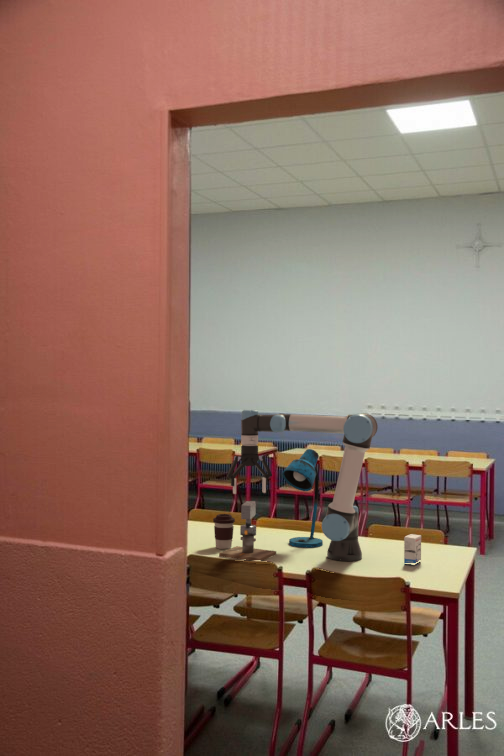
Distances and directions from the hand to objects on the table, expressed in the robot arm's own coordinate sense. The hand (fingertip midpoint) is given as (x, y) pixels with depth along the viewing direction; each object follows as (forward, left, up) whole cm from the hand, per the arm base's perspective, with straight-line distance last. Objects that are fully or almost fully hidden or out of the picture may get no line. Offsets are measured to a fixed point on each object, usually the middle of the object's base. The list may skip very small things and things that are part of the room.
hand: (249, 493), depth 328 cm
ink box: (-67, -24, -28) cm, 76 cm away
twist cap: (0, 0, -18) cm, 18 cm away
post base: (0, 0, -28) cm, 28 cm away
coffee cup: (+17, -8, -28) cm, 34 cm away
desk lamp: (-12, -33, -28) cm, 45 cm away
